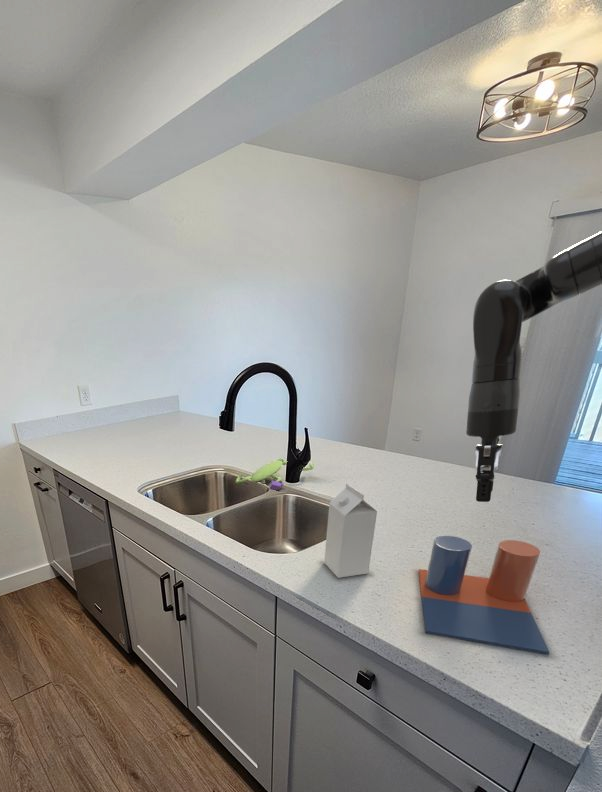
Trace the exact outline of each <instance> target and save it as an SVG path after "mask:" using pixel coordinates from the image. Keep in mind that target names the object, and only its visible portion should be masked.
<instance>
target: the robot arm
mask: <svg viewBox="0 0 602 792" xmlns="http://www.w3.org/2000/svg"><path fill="white" fill-rule="evenodd" d="M600 286H602V231H599V232H598V233H595V234H594V235H592V236H590V237H587V238H586V239H584V240H581V241H580V242H578V243H576V244H574V245H572V246H570V247H568V248H567V249H564V250H563V251H561V252H559V253H558V254H556V255H554V256H552V257H551V258H550V259H548V260H547V261H546V262H545V264H543V265H542V267H539V268H538V269H536V270H534V271H532V272H530V273H528V274H526V275H524V276H522V277H521V278H518V279H516V280H512V279H501V280H498V281H495V282H493V283H491V284H490V285H488V286H487V287H486V288H484V289H483V291H481V293H480V294H479V296H478V297H477V299H476V302H475V304H474V308H473V315H472V316H473V317H472V332H473V347H474V357H473V358H474V359H473V363H472V364H473V365H472V372H471V373H472V374H471V375H472V376H471V386H470V390H469V396H468V405H467V417H466V418H467V419H466V432H465V433H466V436H468V437H474V438H476V437H477V438H480V439H481V443H480V444H477V445H476V446H475V451H474V454H475V464H474V468H475V471H476V474H475V480H476V482H477V483H476V495H475V501H476V502H478V503H489V502H490V501H491V499H492V492H493V489H494V481H495V473H496V471H497V470H498V469H499V464H500V457H501V456H502V451H503V444H502V443H499V442H500V437H501V436H503V437H505V436H510V435H513V434H515V433H516V431H517V426H518V425H517V424H518V416H519V415H518V414H519V405H520V396H521V385H520V384H521V383H520V381H521V380H520V378H521V369H522V361H523V359H522V358H523V350H522V345H521V333H522V325H523V323H524V322H526V321H529V320H530V319H532V318H534V317H536V316H538V315H539V314H542V313H543V312H545V311H547V310H549V309H550V308H553V307H554V306H556V305H558V304H560V303H562V302H564V301H567V300H571V299H572V298H575V297H577V296H579V295H582V294H584V293H587V292H588V291H591V290H593V289H596V288H597V287H600Z"/></svg>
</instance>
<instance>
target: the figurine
mask: <svg viewBox="0 0 602 792" xmlns="http://www.w3.org/2000/svg"><path fill="white" fill-rule="evenodd" d="M287 462H288V461H285V458H279V459H277V460H272V461H271V462H269V463H266V464H265V465H263V466H261V467H259V468H258V469H257V470H256V471H254V473H252V474H251V475H249V476H245V477H244V478H243V474H242V473H240V474H239V475H238V476H237V478H236V479H235V484H236V485H241V484H243V483H245V482H246V481H249V480H250V481H251V482H253V483H255V484H257V483H259V482H260V484H262V485H265V484H266V479H268V478H272V479H271V480H270V483H268V486H269V490H272V491H279V490H282V488H283V487H284V482H283V481H282V478H281V477H279V476H277V475H275V474H276V473H278V471H279V470H280V469H281V468H282V466H288V465H287ZM308 466H309V467H303V469H302V471H301V472H306V471H312V470H313V469H314V468H315V466H314V463H313V462H310V463H308Z"/></svg>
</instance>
